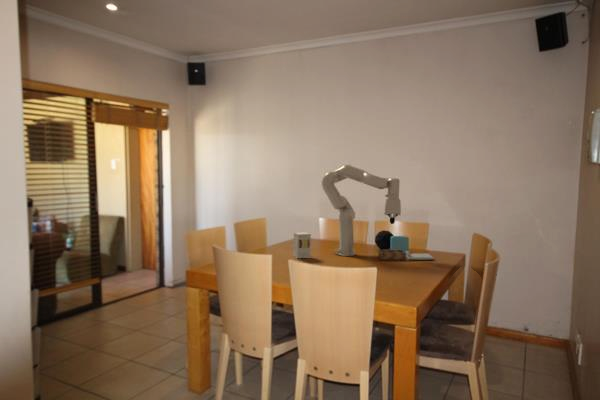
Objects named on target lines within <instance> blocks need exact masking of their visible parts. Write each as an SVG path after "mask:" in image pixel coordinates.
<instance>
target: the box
mask: <svg viewBox="0 0 600 400" xmlns="http://www.w3.org/2000/svg"><path fill="white" fill-rule="evenodd" d="M377 255H378V258H379V259H380V261H406V260H407V257H406V253H403V250H390V249H388V250H381V249H378V254H377Z"/></svg>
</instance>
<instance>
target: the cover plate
mask: <svg viewBox="0 0 600 400" xmlns="http://www.w3.org/2000/svg"><path fill="white" fill-rule="evenodd" d="M405 253H406V259H408V260H411V261H430V260H434V256H432V255H431V254H430V253H410V251H409V252H408V251H405Z"/></svg>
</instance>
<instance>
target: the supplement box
mask: <svg viewBox="0 0 600 400" xmlns="http://www.w3.org/2000/svg"><path fill="white" fill-rule="evenodd" d="M311 235H312V234H311V233H309V232H307V231H303V232H302V231H301V232H293V257H294V258H295V257H296V258H295V259H297V258H299V259H298V260H301V259H300V258H309V259H311V251H312V250H311V245H312V243H311V238H312V237H311Z"/></svg>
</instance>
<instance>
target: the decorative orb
mask: <svg viewBox="0 0 600 400" xmlns="http://www.w3.org/2000/svg"><path fill="white" fill-rule="evenodd" d="M391 236H394V234H393V233H392V232H391V231H390V230H385V229H384V230H380V231H379V232H378V233H376V235H375V237H374V243H375V245H376V246H377V248H379V250H390V238H391Z"/></svg>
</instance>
